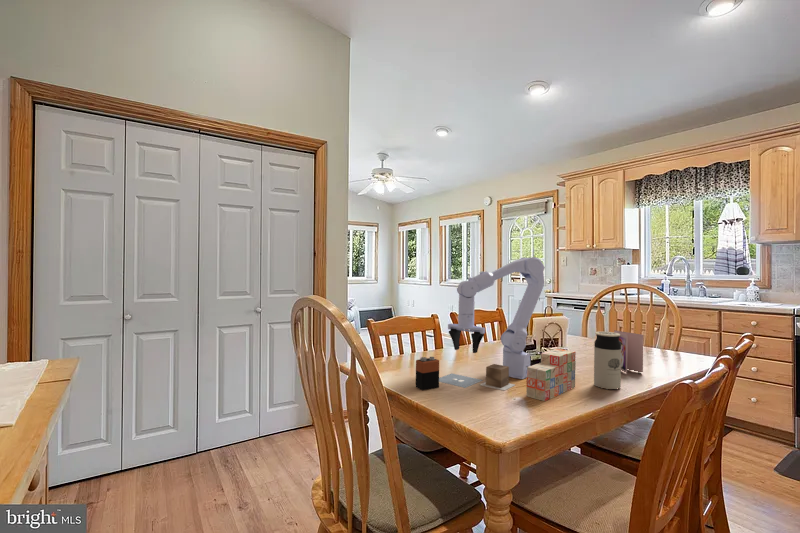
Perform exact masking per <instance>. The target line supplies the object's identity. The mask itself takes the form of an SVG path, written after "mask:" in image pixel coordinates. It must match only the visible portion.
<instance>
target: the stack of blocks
mask: <svg viewBox="0 0 800 533" xmlns="http://www.w3.org/2000/svg"><path fill="white" fill-rule="evenodd" d="M576 353H577V352H576V351H574V350H568V349H561V348H556V349H550V350H547V351H544V352H541V353H540V354H541V356H540V362H539V363H536V364H533V365H530V366H529V367H527V377H526V391H525V392H526V396H525V397H528V398H530V399H531V398H532V399H535V400H539V401H542V402H545V401H548V400H551V399H553V398H555V397H557V395H558V396H559V395H562V394H564V393H565V391H566V392H568V391H570V390H572V389H571V388H573V389H575V388H576ZM574 387H575V388H574ZM569 389H570V390H569ZM567 390H568V391H567ZM563 392H564V393H563ZM561 393H562V394H561Z"/></svg>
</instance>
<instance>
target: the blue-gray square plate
mask: <svg viewBox="0 0 800 533" xmlns="http://www.w3.org/2000/svg"><path fill="white" fill-rule="evenodd" d="M482 381H484V379H479V378H474V377H471V376H466V375H462V374H456V373H452V372H451V373H449V374H447V375H444V376H441V377H440V376H439V383H442V384H443V383H444V384H447V385H451V386H455V387H459V388H463V389H466V388H468V387H471V386H473V385H475V384H477V383H480V382H482Z"/></svg>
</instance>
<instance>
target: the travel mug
mask: <svg viewBox="0 0 800 533" xmlns="http://www.w3.org/2000/svg"><path fill="white" fill-rule="evenodd" d="M595 336H596V339H595V340H594V342H593V343H594V344H593V345H594V346H593V349H594V352H593V353H594V354H593V355H594V357H593V362H594V363H593V385H594V386H595V387H597V386H598V387H597V388H599V387H601V388H600V389H602V388H606V389H605V390H608V389H617V388H619V389H621V388H620V387H622V386H621V381H622V379H621V376H622V375H621V373H622V372H621V343H620V341H619V336H620V334H619V333H614V332H612V331H596V332H595ZM617 390H618V389H617Z"/></svg>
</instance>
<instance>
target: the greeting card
mask: <svg viewBox="0 0 800 533" xmlns="http://www.w3.org/2000/svg"><path fill="white" fill-rule="evenodd" d="M614 333H619V334H620V336H619V341H620V343H621V370H622V371H624V372H626V373H627V374H628V371H627V369H629V370H634V371H638V372H643V373H644V334H642V333H640V334H639V333H634V332H627V331H623V330H621V331H620V330H614Z"/></svg>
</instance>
